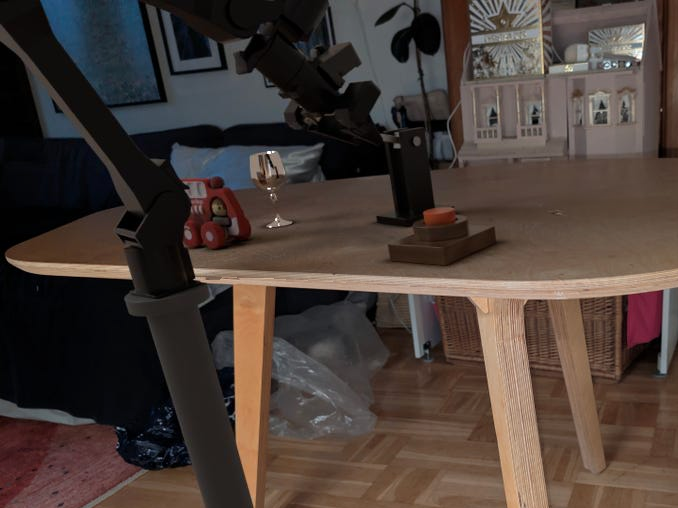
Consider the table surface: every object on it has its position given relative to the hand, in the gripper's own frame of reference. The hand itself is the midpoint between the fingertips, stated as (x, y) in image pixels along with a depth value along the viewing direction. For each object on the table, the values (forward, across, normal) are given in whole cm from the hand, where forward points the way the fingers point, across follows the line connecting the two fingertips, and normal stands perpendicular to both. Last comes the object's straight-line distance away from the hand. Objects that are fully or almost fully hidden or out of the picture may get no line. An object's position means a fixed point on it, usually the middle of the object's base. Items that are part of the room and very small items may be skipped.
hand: (371, 143), depth 105 cm
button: (+2, -22, +11) cm, 25 cm away
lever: (+2, 0, -1) cm, 3 cm away
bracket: (+13, 0, +4) cm, 14 cm away
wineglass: (+4, +22, +14) cm, 27 cm away
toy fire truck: (-4, +19, +23) cm, 30 cm away
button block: (+4, -22, +13) cm, 26 cm away
